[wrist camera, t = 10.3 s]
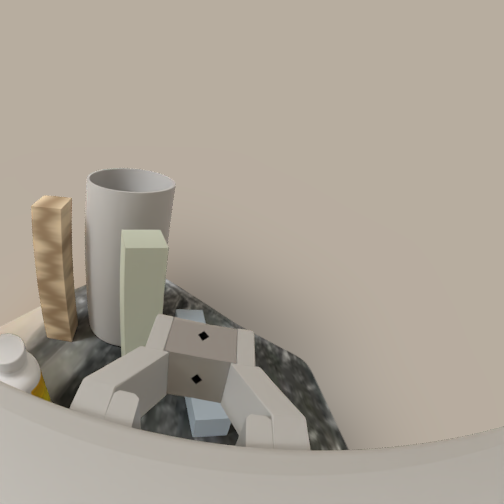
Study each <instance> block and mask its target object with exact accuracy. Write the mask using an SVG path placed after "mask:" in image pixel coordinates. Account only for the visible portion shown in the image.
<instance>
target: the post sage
mask: <svg viewBox="0 0 504 504" xmlns="http://www.w3.org/2000/svg"><path fill="white" fill-rule="evenodd" d="M168 251H169V247H168V245H167V243H166V241H165V239H164V236H163V234H162V232H161V230H122V232H121V254H120V333H121V355H122V356H124V355H126V354H127V353H129V352H131V351H133V350H134V349H136V348H138V347H140V346H144V347H145V346H146V343H147V341H148V338H149V335H150V333H151V330H152V327H153V324H154V322H155V319H156V317H157V315H158V314H163V301H164V290H165V279H166V269H167V260H168Z"/></svg>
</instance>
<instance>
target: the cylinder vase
mask: <svg viewBox="0 0 504 504" xmlns="http://www.w3.org/2000/svg"><path fill="white" fill-rule="evenodd" d="M175 185H176V183H175V181H174V180H173V179H172V178H170V177H168V176H166V175H163V174H160V173H156V172H152V171H147V170H140V169H130V168H113V169H104V170H99V171H96V172H93V173H91V174H89V175H88V176H87V185H86V207H85V208H86V209H85V264H86V287H87V302H88V314H89V324H90V327H91V329H92V331H93V332H94V334H95V335H96V336H97V337H98V338H100V339H101V340H103V341H105V342H107V343H109V344H112V345H116V346H121V333H120V254H121V232H122V230H161V232H162V234H163V236H164V239H165V241H166V243H167V245H168V236H169V227H170V220H171V213H172V206H173V198H174V192H175Z"/></svg>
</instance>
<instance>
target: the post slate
mask: <svg viewBox="0 0 504 504" xmlns="http://www.w3.org/2000/svg"><path fill="white" fill-rule="evenodd" d="M175 317H178V318H182V319H187V320H192V321H196V322H201V323H206V322H205V318H204V314H203V310H188V309H176V314H175ZM185 401H186V406H187V411H188V417H189V422H190V427H191V432H192V437H206V436H220V435H227V433H228V430H229V427H230V424H231V421H230V419H229V418H228V416H227V414H226V413H225V411H224V409H223V408H222V406H221V403H217V402H212V401H206V400H201V399H196V398H190V397H185Z"/></svg>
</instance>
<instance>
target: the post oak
mask: <svg viewBox="0 0 504 504" xmlns="http://www.w3.org/2000/svg"><path fill="white" fill-rule="evenodd" d="M71 212H72V198H67V197H56V196H46V195H45V196H43V197H42V198H41V199H39V200H38V201H37V202H36V203H34V204H33V205H32V206H31V213H32V233H33V246H34V257H35V266H36V275H37V282H38V290H39V296H40V303H41V308H42V314H43V320H44V325H45V330H46V334H47V338H52V339H58V340H64V341H70V342H72V340H73V337H74V334H75V331H76V328H77V326H78V320H77V311H76V302H75V291H74V277H73V260H72V229H71V228H72V223H71V222H72V220H71V219H72V213H71Z"/></svg>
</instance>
